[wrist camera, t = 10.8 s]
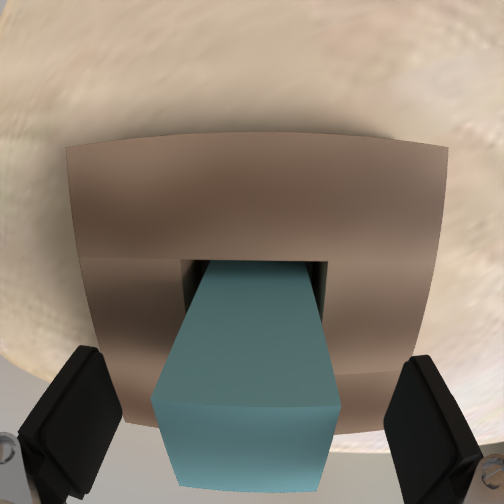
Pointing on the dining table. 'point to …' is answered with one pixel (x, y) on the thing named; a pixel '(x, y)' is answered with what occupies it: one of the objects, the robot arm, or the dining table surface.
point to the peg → (249, 382)
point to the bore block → (259, 245)
